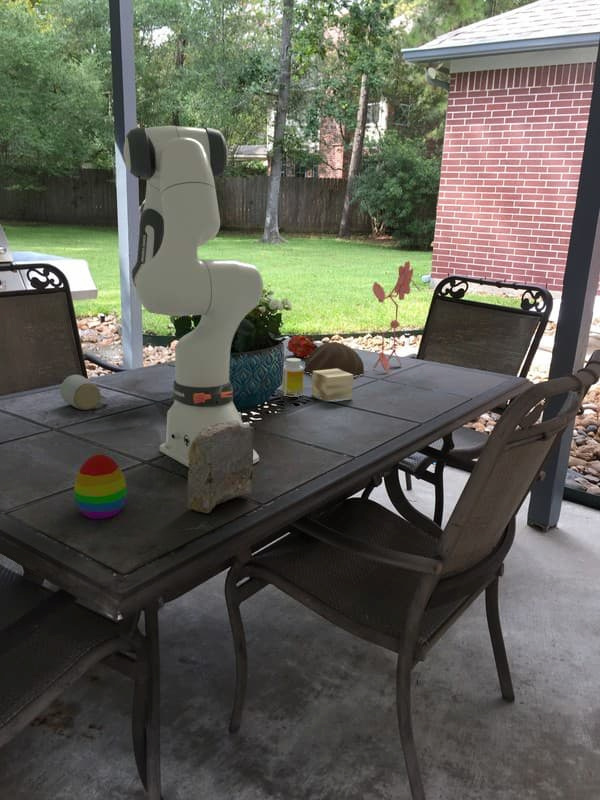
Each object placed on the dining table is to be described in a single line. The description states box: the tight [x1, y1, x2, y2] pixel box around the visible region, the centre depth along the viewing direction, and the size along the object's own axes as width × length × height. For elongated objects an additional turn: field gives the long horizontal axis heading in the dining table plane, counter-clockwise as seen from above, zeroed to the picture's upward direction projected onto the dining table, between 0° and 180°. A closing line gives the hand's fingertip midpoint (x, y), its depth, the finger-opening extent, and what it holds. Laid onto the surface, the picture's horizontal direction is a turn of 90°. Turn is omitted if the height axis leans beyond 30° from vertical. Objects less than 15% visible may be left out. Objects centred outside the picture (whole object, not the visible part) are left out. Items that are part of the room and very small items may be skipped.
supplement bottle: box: [282, 357, 304, 398], centre depth 181 cm, size 6×6×10 cm
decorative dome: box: [303, 341, 365, 376], centre depth 209 cm, size 19×20×10 cm
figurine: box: [365, 260, 421, 373], centre depth 211 cm, size 15×26×35 cm, turn 148°
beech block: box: [311, 369, 354, 401], centre depth 180 cm, size 8×8×7 cm
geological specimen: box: [187, 420, 255, 514], centre depth 111 cm, size 11×6×15 cm, turn 141°
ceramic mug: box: [59, 374, 110, 411], centre depth 165 cm, size 11×8×8 cm
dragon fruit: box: [286, 334, 319, 359], centre depth 230 cm, size 8×8×12 cm
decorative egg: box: [73, 453, 127, 520], centre depth 108 cm, size 8×8×10 cm
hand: (245, 304), depth 178 cm, fingers open, 8 cm apart
